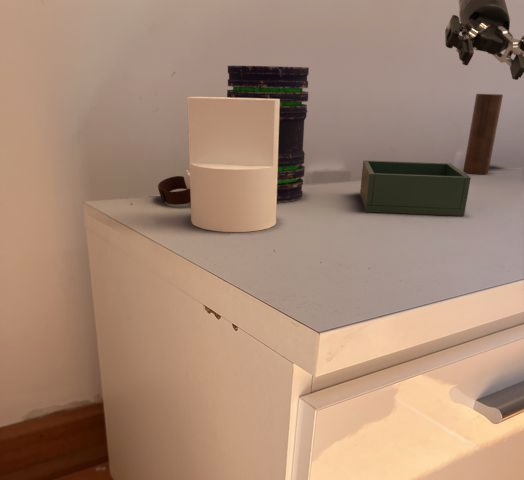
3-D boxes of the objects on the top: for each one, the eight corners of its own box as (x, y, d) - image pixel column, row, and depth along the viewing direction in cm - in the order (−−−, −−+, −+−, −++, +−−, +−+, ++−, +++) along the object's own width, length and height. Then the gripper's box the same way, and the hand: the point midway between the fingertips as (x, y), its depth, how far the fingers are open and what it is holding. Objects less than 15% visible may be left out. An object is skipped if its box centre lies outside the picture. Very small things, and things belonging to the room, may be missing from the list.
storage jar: (242, 186, 79) (243, 66, 73) (311, 191, 77) (318, 68, 70) (215, 199, 71) (213, 65, 64) (291, 205, 68) (297, 66, 62)
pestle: (484, 171, 97) (499, 94, 92) (490, 174, 93) (506, 94, 88) (460, 170, 97) (473, 93, 92) (466, 173, 94) (479, 94, 89)
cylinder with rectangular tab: (181, 229, 57) (176, 98, 52) (202, 210, 65) (199, 95, 60) (270, 234, 56) (274, 101, 51) (280, 214, 64) (284, 97, 59)
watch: (209, 206, 67) (208, 174, 65) (170, 209, 65) (169, 176, 64) (186, 194, 73) (185, 165, 72) (151, 196, 71) (149, 166, 70)
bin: (445, 197, 75) (450, 163, 73) (464, 216, 65) (470, 177, 63) (360, 193, 76) (363, 160, 74) (365, 212, 66) (369, 173, 64)
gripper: (455, -20, 94) (463, 30, 85) (534, 4, 96) (550, 56, 87) (434, 26, 100) (440, 77, 91) (508, 47, 102) (521, 100, 93)
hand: (493, 67), depth 89 cm, fingers open, 8 cm apart
